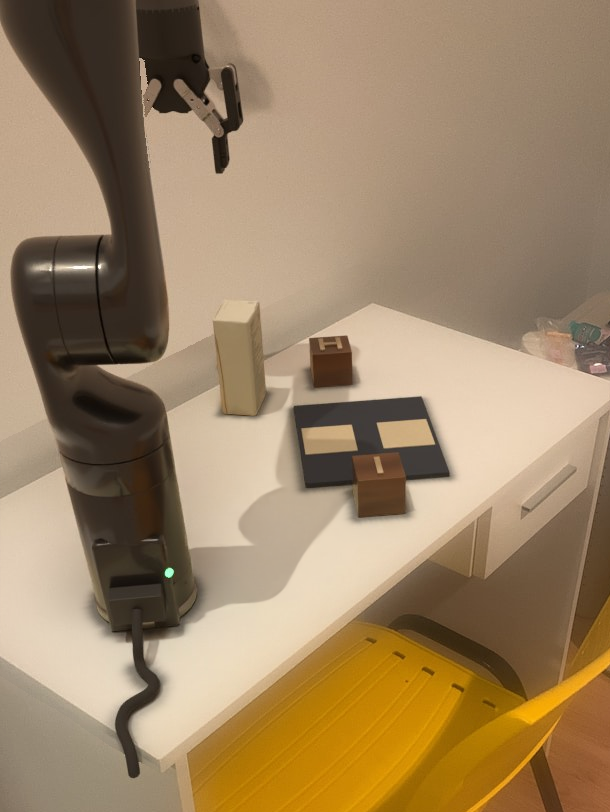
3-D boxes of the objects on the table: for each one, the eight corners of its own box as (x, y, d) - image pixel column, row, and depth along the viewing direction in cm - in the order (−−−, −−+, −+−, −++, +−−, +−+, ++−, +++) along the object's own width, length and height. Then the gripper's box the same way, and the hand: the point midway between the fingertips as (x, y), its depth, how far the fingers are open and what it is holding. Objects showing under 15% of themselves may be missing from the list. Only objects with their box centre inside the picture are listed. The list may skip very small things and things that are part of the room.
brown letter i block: (405, 513, 101) (406, 475, 98) (358, 517, 101) (357, 479, 98) (398, 488, 105) (398, 450, 102) (352, 491, 104) (351, 454, 101)
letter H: (352, 384, 123) (352, 350, 120) (314, 387, 123) (312, 352, 120) (348, 367, 127) (347, 333, 124) (310, 370, 127) (308, 336, 123)
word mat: (449, 476, 106) (449, 471, 106) (305, 488, 105) (305, 482, 105) (421, 400, 120) (421, 395, 119) (293, 409, 118) (293, 404, 118)
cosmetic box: (234, 391, 122) (224, 297, 114) (268, 393, 122) (260, 299, 114) (221, 415, 118) (210, 319, 110) (257, 417, 117) (248, 321, 109)
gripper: (81, 6, 95) (112, 181, 106) (223, 5, 94) (240, 182, 105) (102, -6, 100) (129, 161, 111) (237, -7, 99) (251, 162, 110)
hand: (183, 171), depth 108 cm, fingers open, 8 cm apart
